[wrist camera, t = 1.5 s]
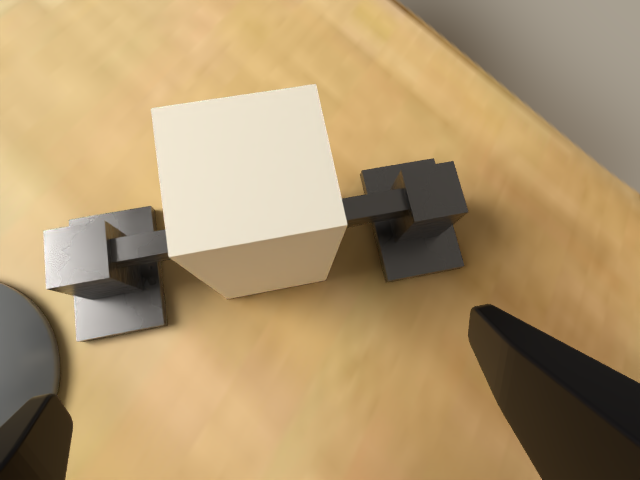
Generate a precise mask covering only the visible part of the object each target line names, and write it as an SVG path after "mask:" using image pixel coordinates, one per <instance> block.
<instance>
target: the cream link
mask: <svg viewBox="0 0 640 480" xmlns="http://www.w3.org/2000/svg"><path fill="white" fill-rule="evenodd" d="M151 113H152V121H153V130H154V138H155V147H156V155H157V163H158V172H159V180H160V189H161V197H162V206H163V214H164V222H165V231H166V239H167V248H168V256H169V258H170V259H172V260H173V261H175V262H176V263H177V264H179V265H180V266H182V267H183V268H184V269H186V270H187V271H189V272H190V273H191V274H193V275H194V276H196V277H197V278H198V279H200V280H201V281H203V282H204V283H205V284H207V285H208V286H210V287H211V288H212V289H214V290H215V291H217V292H218V293H219V294H221V295H222V296H224V297H225V298H226V299H231V298H236V297H242V296H247V295H252V294H257V293H262V292H268V291H273V290H278V289H283V288H288V287H294V286H299V285H304V284H309V283H315V282H320V281H325V280H326V278H327V276H328V273H329V271H330V268H331V266H332V263H333V261H334V258H335V255H336V253H337V250H338V248H339V245H340V243H341V240H342V238H343V235H344V233H345V230H346V228H347V220H346V216H345V211H344V207H343V202H342V198H341V193H340V189H339V185H338V180H337V176H336V171H335V167H334V162H333V158H332V153H331V149H330V144H329V140H328V135H327V131H326V127H325V122H324V118H323V113H322V109H321V104H320V100H319V95H318V91H317V86H316V84H313V85H306V86H299V87H292V88H285V89H279V90H272V91H265V92H258V93H251V94H245V95H238V96H231V97H224V98H217V99H211V100H204V101H197V102H190V103H183V104H177V105H170V106H163V107H156V108H151Z"/></svg>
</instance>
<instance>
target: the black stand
mask: <svg viewBox="0 0 640 480" xmlns="http://www.w3.org/2000/svg"><path fill="white" fill-rule="evenodd" d="M360 176H361V180H362V185H363V189H364V193H365V195H361V196H355V197H349V198H343V199H342V202H343V207H344V211H345V216H346V220H347V227H352V226H358V225H363V224H369V223H372V227H373V231H374V235H375V239H376V243H377V247H378V252H379V256H380V260H381V264H382V268H383V273H384V277H385V281H386V282H392V281H397V280H402V279H407V278H412V277H417V276H422V275H427V274H433V273H438V272H443V271H448V270H453V269H458V268H461V267H463V266H464V263H463V259H462V256H461V252H460V249H459V245H458V242H457V238H456V235H455V231H454V228H453V224H454V223H455V222H457V221H458V220H459V219H460V218H462V217H463V216H464V215H465V214H467V213H468V209H467V206H466V202H465V199H464V195H463V192H462V189H461V185H460V182H459V179H458V175H457V172H456V168H455V165H454V162H453V161H451V162H445V163H439V164H435V161H434V158H433V159H427V160H421V161H415V162H409V163H403V164H397V165H391V166H385V167H380V168H374V169H368V170H362V171H361V174H360ZM43 234H44V255H45V276H46V289H48V290H52V291H56V292H61V293H65V294H69V295H73V296H74V309H75V324H76V340H77V342H84V341H89V340H94V339H99V338H105V337H110V336H115V335H120V334H125V333H130V332H135V331H140V330H146V329H151V328H156V327H161V326H166V325H168V323H167V314H166V306H165V297H164V288H163V279H162V270H161V262H160V261H164V260H170V258H169V256H168V248H167V239H166V231H165V230H159V231H157V226H156V218H155V210H154V209H153V208H152V207H151V206H148V207H142V208H136V209H130V210H124V211H118V212H112V213H106V214H100V215H94V216H88V217H82V218H77V219H71V220H69V226H68V227H62V228H56V229H50V230H45V231H43Z"/></svg>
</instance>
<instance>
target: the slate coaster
mask: <svg viewBox="0 0 640 480" xmlns="http://www.w3.org/2000/svg"><path fill="white" fill-rule="evenodd" d="M59 380H60V356H59V350H58V344H57V341H56V338H55V335H54V332H53V330H52V328H51V326H50V324H49V322H48V320H47V318H46V317H45V315H44V314H43V312H42V311H41V310H40V309H39V307H38V306H37V305H36V304H35V303H34V302H33V301H32V300H31V299H29V298H28V297H27V296H25V295H24V294H23V293H22V292H20V291H18V290H16V289H14V288H13V287H11V286H8V285H6V284H3V283H0V427H1V426H2V425H3V424H4V423H5V422H6V421H7V420H8V419H9V418H10V417H11V416H12V415H13V414H14V413H15V412H16V411H17V410H18V409H19V408H21V407H22V406H23V405H24V404H25V403H26V402H27V401H28V400H29V399H30V398H32V397H35V396H39V395H44V394H49V393H54V394H56V395H57V393H58V388H59Z"/></svg>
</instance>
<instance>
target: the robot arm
mask: <svg viewBox="0 0 640 480" xmlns="http://www.w3.org/2000/svg"><path fill="white" fill-rule="evenodd" d="M468 338H469V342H470V345H471V347H472V349H473V351H474V353H475V356H476V358H477V360H478V362H479V364H480V367H481V369H482V371H483V373H484V375H485V378H486V380H487V382H488V384H489V386H490V389H491V391H492V393H493V395H494V397H495V399H496V401H497V403H498V405H499V407H500V409H501V411H502V412H503V414H504V416H505V418H506V419H507V421H508V423H509V424H510V426H511V428H512V429H513V431H514V433H515V435H516V436H517V438H518V440H519V441H520V443H521V445H522V446H523V448H524V450H525V451H526V453H527V455H528V456H529V458H530V460H531V462H532V463H533V465H534V467H535V468H536V470H537V472H538V473H539V475H540V477H541V478H542V480H640V383H638V382H636V381H634V380H632V379H630V378H629V377H627V376H625V375H623V374H621V373H619V372H617V371H615V370H614V369H612V368H610V367H608V366H606V365H604V364H602V363H600V362H599V361H597V360H595V359H593V358H591V357H589V356H587V355H585V354H584V353H582V352H580V351H578V350H576V349H574V348H572V347H570V346H569V345H567V344H565V343H563V342H561V341H559V340H557V339H555V338H554V337H552V336H550V335H548V334H546V333H544V332H542V331H540V330H539V329H537V328H535V327H533V326H531V325H529V324H527V323H525V322H524V321H522V320H520V319H518V318H516V317H514V316H512V315H510V314H509V313H507V312H505V311H503V310H501V309H499V308H497V307H495V306H493V305H491V304H485V305H480V306H475V307H473V308H472V309H471V312H470V320H469V329H468ZM72 431H73V422H72V418H71V416H70V414H69V413H68V411H67V410H66V408H65V407H64V405H63V403H62V402H61V400H60V399H59V397H58V396H57V395H56V394H54V393H49V394H44V395H39V396H35V397H32V398H30V399H29V400H28V401H27V402H26V403H25V404H24V405H23V406H22V407H21V408H19V409H18V410H17V411H16V412H15V413H14V414H13V415H12V416H11V417H10V418H9V419H8V420H7V421H6V422H5V423H4V424H3V425H2V426H1V427H0V480H65V477H66V471H67V464H68V458H69V451H70V444H71V438H72Z"/></svg>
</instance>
